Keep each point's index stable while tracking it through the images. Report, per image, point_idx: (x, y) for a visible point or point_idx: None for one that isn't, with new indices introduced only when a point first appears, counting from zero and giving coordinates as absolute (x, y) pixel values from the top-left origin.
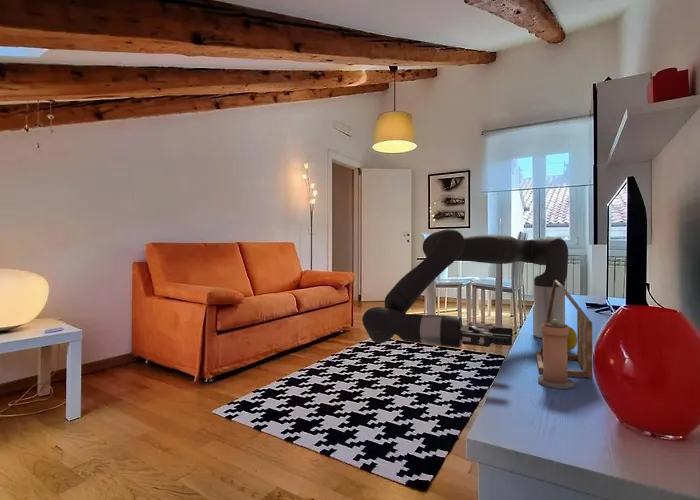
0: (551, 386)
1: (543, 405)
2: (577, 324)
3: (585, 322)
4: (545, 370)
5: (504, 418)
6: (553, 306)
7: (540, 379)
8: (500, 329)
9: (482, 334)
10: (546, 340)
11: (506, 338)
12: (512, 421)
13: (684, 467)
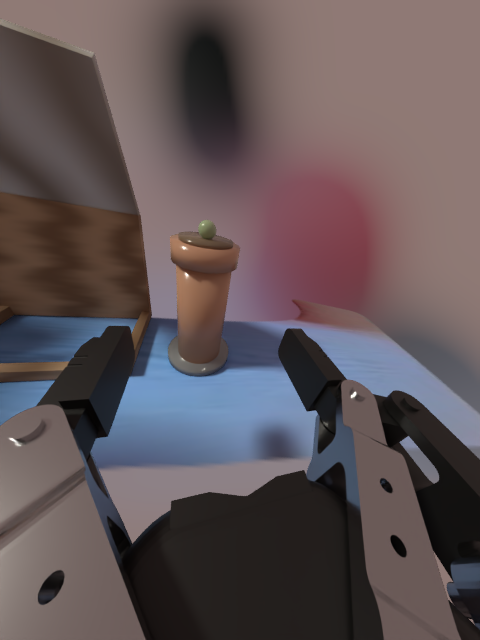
0: (227, 356)
1: None
2: None
3: (112, 217)
4: (213, 345)
5: None
6: None
7: (208, 367)
8: (105, 379)
9: (431, 435)
10: (224, 286)
11: (315, 344)
12: None
13: (331, 308)
